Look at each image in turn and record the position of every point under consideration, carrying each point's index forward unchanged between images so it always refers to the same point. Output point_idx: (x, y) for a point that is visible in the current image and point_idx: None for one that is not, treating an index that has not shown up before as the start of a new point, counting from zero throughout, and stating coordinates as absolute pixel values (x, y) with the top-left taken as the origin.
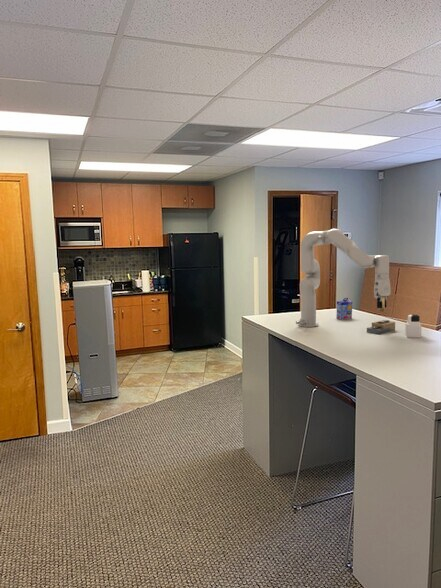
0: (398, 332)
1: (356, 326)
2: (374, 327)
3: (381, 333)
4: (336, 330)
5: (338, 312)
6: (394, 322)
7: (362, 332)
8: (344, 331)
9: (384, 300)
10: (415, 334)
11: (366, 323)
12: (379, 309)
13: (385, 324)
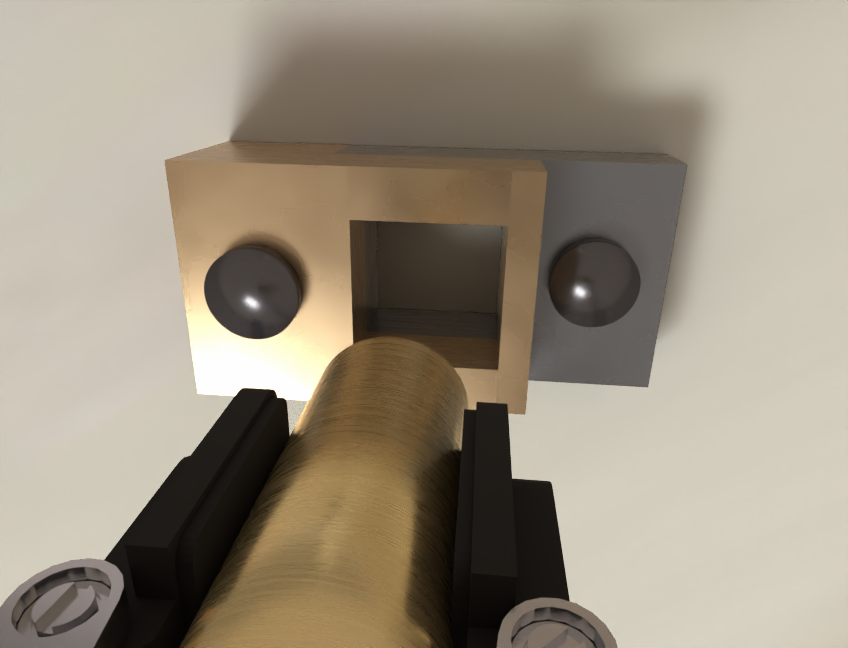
0: (315, 6)
1: None
2: (616, 287)
3: (585, 152)
4: (787, 640)
5: None
6: (191, 159)
7: (693, 383)
8: (783, 558)
9: (277, 584)
10: None
11: None
12: None
13: (482, 169)
